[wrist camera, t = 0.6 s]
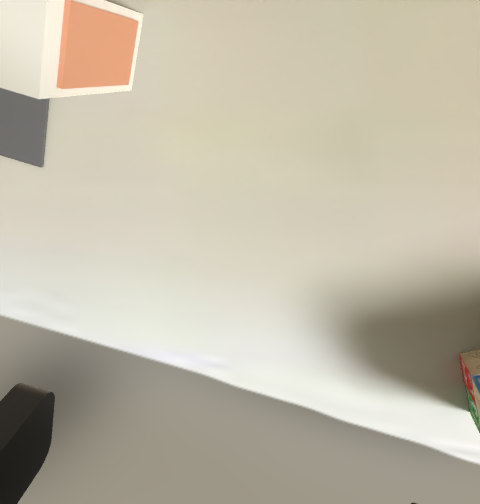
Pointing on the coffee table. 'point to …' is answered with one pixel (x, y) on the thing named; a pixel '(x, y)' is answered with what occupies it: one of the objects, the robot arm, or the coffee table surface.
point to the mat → (23, 127)
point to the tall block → (67, 47)
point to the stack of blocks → (472, 382)
